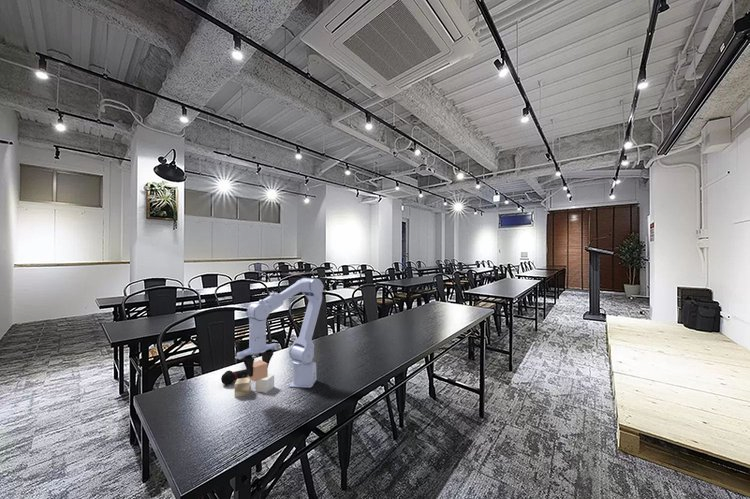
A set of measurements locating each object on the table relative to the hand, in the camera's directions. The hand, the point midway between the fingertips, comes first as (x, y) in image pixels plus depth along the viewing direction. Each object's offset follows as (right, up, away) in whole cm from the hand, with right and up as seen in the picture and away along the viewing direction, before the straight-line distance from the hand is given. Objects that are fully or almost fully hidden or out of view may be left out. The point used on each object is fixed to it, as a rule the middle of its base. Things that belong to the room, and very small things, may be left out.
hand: (257, 373), depth 105 cm
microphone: (-15, -11, +21) cm, 28 cm away
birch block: (-8, -11, +6) cm, 15 cm away
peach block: (0, -1, 0) cm, 1 cm away
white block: (-1, -11, +10) cm, 15 cm away
